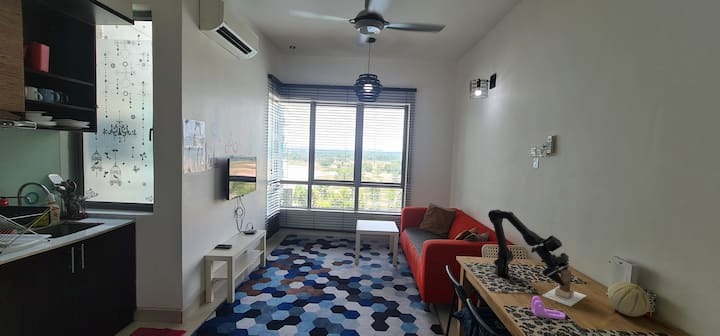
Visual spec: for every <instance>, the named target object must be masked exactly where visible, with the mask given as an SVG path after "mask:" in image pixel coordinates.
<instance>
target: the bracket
mask: <svg viewBox="0 0 720 336" xmlns="http://www.w3.org/2000/svg"><path fill="white" fill-rule="evenodd" d="M531 311H532V313H533V315H534V316H536V317H542V318H548V319H554V320H555V319H557V320H560V321H561V320H562V319H563V320H565V319H566V314H565V313H564V312H562V311H559V310H556V309H555V310H554V309H548V308H545V303H544V302H543V301H542V299H541V297H540V296H538V295H534V296H533V297H532V299H531Z"/></svg>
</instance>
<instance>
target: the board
mask: <svg viewBox="0 0 720 336" xmlns="http://www.w3.org/2000/svg"><path fill="white" fill-rule="evenodd" d="M559 287H560V285H559V286H556V287H555V288H553V289H551V290H549V291H547V292H545V293H544V294H542V295H541V296H542V297H545V298H546V299H550V300H553V301H554V302H555V301H556V302H558V303H560V304H563V305H566V306H569V307H572V306H573V305H575V304H576V303H578V302H579V301H580V300H583V298H585V297H587V295H586V294H584V293H580V292H578V291H575V290H574V296H573V297H571V298H570V299H568V300H567V299H565V298H562V297H559V296H556V295H555V289H557V288H559Z"/></svg>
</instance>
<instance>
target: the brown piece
mask: <svg viewBox="0 0 720 336" xmlns="http://www.w3.org/2000/svg"><path fill="white" fill-rule="evenodd" d="M559 276H560V278H561V279H562V281H563V283H564V284H565V285H564V286H562V285H560V284H559V286H560V287H559V288H557V289H555V288H554V289H555V295H556V296H559V297H562V298H565V299H567V300H568V299H570V298H571V297H573V296H574V291H575V290H574V289H571V282H572V281H571V278H572V271H571V270H569V269H568V270H565V269H561V274H560V275H559ZM570 281H571V282H570Z"/></svg>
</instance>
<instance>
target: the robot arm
mask: <svg viewBox="0 0 720 336" xmlns="http://www.w3.org/2000/svg"><path fill="white" fill-rule="evenodd" d="M487 214H488V215H487V216H488V219H489V220H490V222H491V224H492V225H493V228H494V233H495V237H496V242H497V246H498V247H497V248H498V252H497V259H494V260H493V264H494V265H495V268H494V269H495V271H493V273H494V274H495V275H496V276H497V277H499V278H500V277H505V278H506V277H510V275H509V274H510V268H509V265H510V264H511V263H512V262H513V261H514V258H515V257H514V254H513V250H512V249H511V250H510V249H509V247H508V244H507V240H506V235H505V232H504V231H505V230H504V227H503V220H504V219H506V220H507V221H508V222H509V223H510V224H511V226H513V227H514V228H515V230H517V232H519V233H520V234H521V236H522V238H523V240H524V242H525V243H526V244H527V246H530V247H531V253H532V254H533V253H536V254H537V255H538V257H539V258H540V259H541V261H540V262H541V263H544V265H545V266H546V268H544V269H543V270H542V275H543V276H544V277H547V278H549V279H550V280H553V281H554V282H555V283H558V285H559V286H560V285H562V286H564V285H565V284H564V283H563V281H562V279H561V278H560V275H561V269H565V270H569V267H570V266H569V265H570V264H569V263H570V259H569V255H568V254H566V253H565V252H563V253H560V255H556V254H553V252H555V251H557V250H558V249H560V248H562V246H563V243H562V242H561V240H560V239H559V238H557V237H556V236H554V235H550V236H548V237H547V238H543V237H541V236H540V235H539V234H537V233H536V232H534V231H532V230H530V229H529V228H528V227H527V226H526V225H525V224H524V223H523V222H522V221H521V220H520V219H519V218H518V217H517V216H516V215H515V214H514V212H513V211H506V210H500V209H491V210H490V211H489V212H488V213H487ZM559 274H560V275H559ZM571 282H573V279H572V277H571V281H570V283H571Z"/></svg>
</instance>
